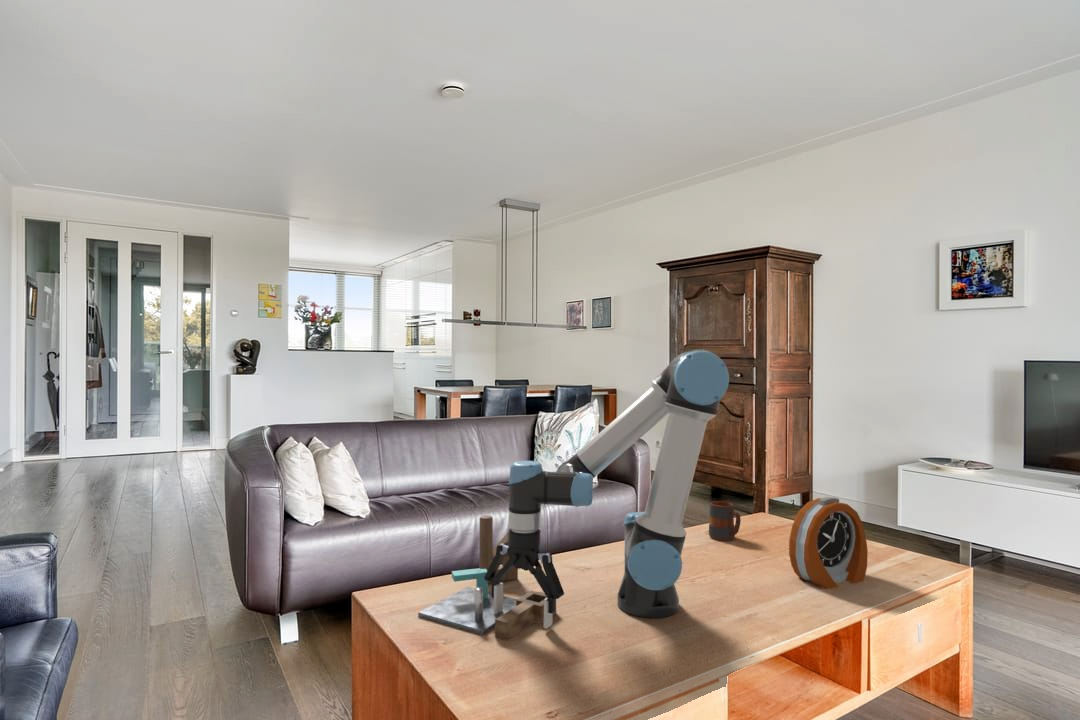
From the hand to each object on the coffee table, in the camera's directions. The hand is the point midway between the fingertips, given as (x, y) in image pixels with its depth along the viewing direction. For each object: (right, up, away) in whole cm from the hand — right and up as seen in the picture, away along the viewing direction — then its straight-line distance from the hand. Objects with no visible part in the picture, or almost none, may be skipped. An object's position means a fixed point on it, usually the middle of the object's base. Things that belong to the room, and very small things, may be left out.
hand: (522, 619), depth 145 cm
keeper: (-14, -1, +12) cm, 18 cm away
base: (-12, -1, +7) cm, 14 cm away
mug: (+67, -1, +67) cm, 95 cm away
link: (0, -1, 0) cm, 1 cm away
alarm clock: (+85, -1, +29) cm, 90 cm away
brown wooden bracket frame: (-8, -1, +28) cm, 29 cm away
